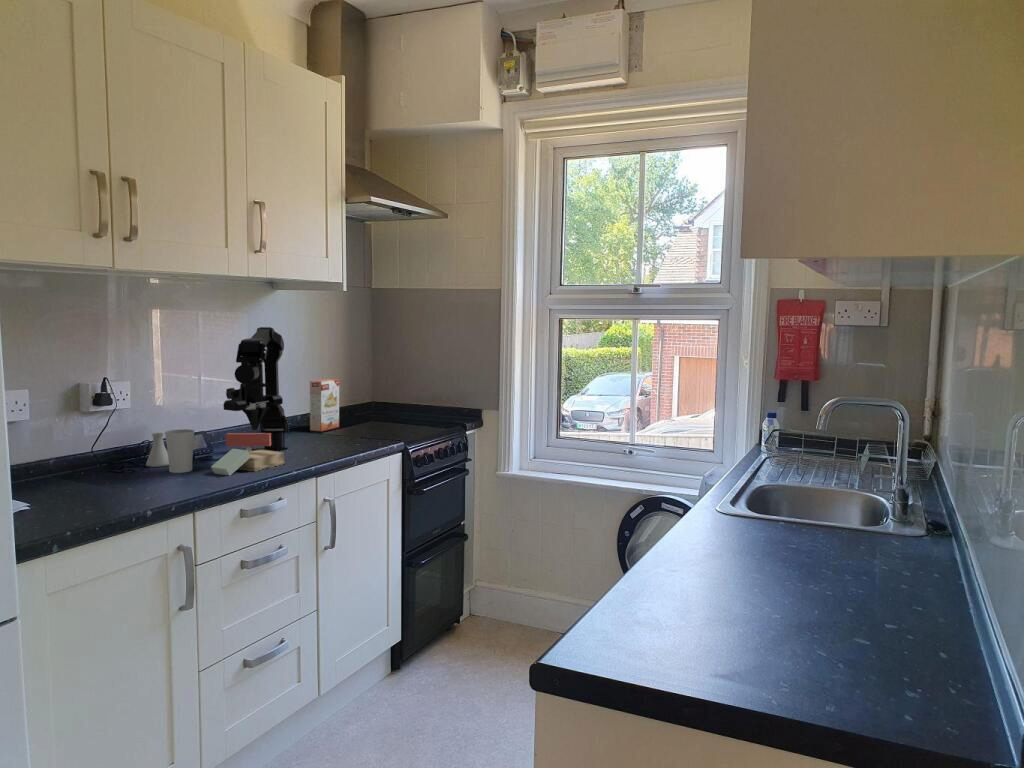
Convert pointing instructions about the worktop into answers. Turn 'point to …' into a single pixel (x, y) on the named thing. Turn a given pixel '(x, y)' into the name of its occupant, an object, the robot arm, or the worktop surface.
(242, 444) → the red rectangular slab
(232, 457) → the green soap bar
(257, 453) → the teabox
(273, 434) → the robot arm
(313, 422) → the cracker box
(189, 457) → the cup
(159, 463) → the flask
